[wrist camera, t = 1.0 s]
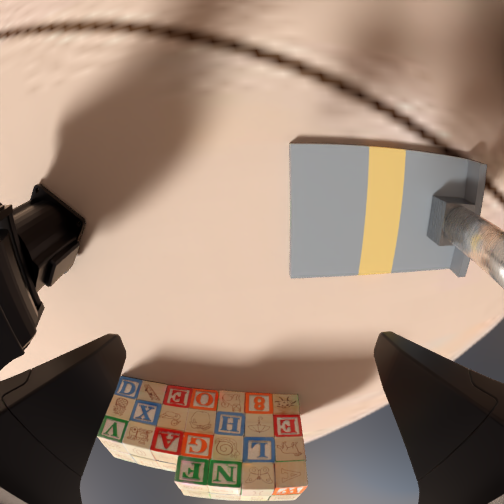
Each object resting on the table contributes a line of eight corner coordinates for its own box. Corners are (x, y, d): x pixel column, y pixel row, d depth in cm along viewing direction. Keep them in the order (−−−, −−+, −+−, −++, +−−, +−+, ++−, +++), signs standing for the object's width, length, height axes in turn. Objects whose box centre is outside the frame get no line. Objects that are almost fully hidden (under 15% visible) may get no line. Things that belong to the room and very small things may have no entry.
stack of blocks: (131, 401, 32) (106, 476, 21) (120, 373, 29) (86, 457, 18) (290, 418, 32) (296, 501, 21) (299, 392, 29) (309, 488, 18)
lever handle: (426, 235, 20) (508, 312, 10) (432, 195, 18) (528, 256, 9) (455, 235, 20) (535, 303, 10) (462, 197, 18) (553, 254, 9)
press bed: (289, 273, 22) (292, 289, 20) (289, 143, 18) (293, 145, 16) (451, 263, 22) (465, 276, 20) (469, 159, 18) (487, 164, 15)
